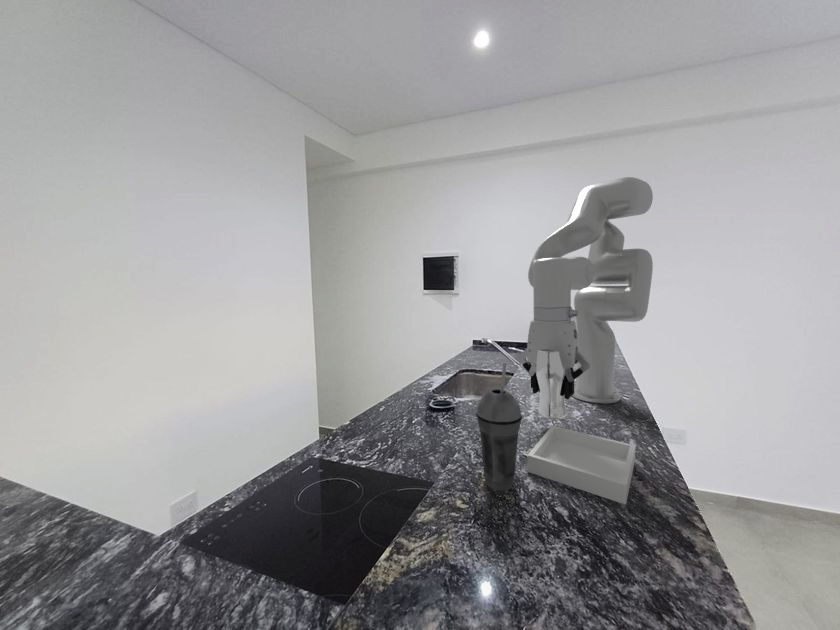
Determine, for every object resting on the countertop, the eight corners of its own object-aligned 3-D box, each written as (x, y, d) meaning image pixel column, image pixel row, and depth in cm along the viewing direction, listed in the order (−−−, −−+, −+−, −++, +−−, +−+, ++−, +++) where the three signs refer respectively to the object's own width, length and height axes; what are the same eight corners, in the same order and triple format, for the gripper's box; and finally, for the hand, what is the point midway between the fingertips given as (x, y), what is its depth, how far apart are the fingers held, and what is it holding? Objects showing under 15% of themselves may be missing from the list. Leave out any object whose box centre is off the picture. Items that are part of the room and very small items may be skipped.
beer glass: (562, 407, 76) (562, 344, 74) (573, 420, 69) (573, 351, 67) (532, 407, 77) (531, 345, 75) (540, 420, 70) (539, 352, 68)
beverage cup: (468, 475, 55) (467, 361, 54) (504, 466, 58) (504, 357, 56) (492, 501, 49) (491, 371, 47) (531, 489, 51) (532, 366, 50)
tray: (551, 439, 68) (551, 425, 67) (634, 461, 59) (635, 445, 58) (527, 471, 56) (527, 455, 56) (625, 504, 47) (626, 485, 47)
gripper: (599, 314, 68) (598, 396, 70) (519, 312, 79) (520, 383, 80) (592, 318, 62) (591, 408, 64) (507, 315, 73) (508, 392, 75)
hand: (551, 393), depth 72 cm, fingers closed on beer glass, 6 cm apart
